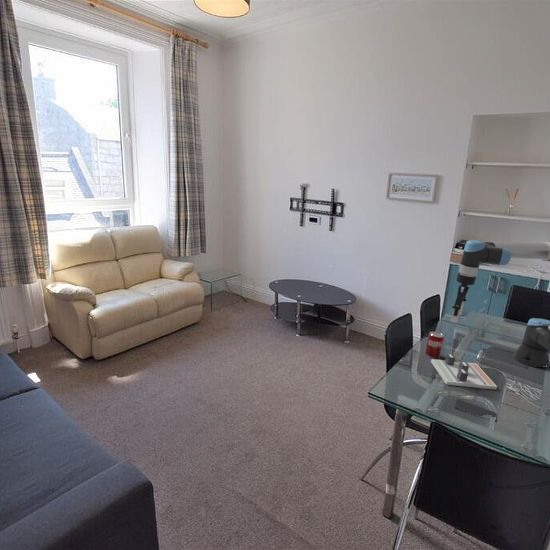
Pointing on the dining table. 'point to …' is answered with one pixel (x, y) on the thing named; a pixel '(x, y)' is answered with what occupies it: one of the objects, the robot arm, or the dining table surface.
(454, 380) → the panel
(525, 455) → the dining table surface
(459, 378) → the block
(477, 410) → the smartphone
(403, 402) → the dining table surface
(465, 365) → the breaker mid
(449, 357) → the block
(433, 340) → the soda can
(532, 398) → the dining table surface
